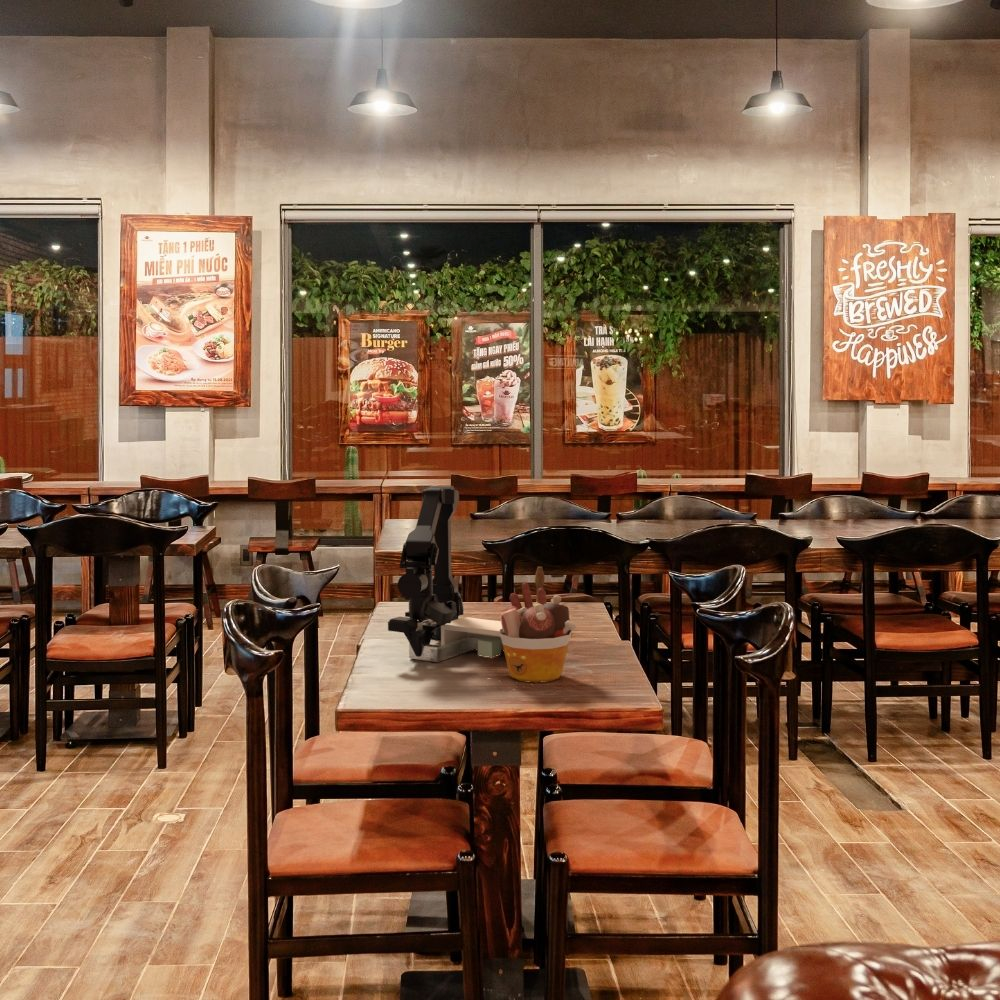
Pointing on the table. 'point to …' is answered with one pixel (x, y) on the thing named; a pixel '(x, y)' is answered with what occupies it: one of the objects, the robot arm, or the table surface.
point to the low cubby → (470, 629)
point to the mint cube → (489, 647)
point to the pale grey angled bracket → (446, 649)
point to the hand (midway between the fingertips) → (421, 655)
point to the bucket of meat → (535, 636)
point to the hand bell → (539, 580)
